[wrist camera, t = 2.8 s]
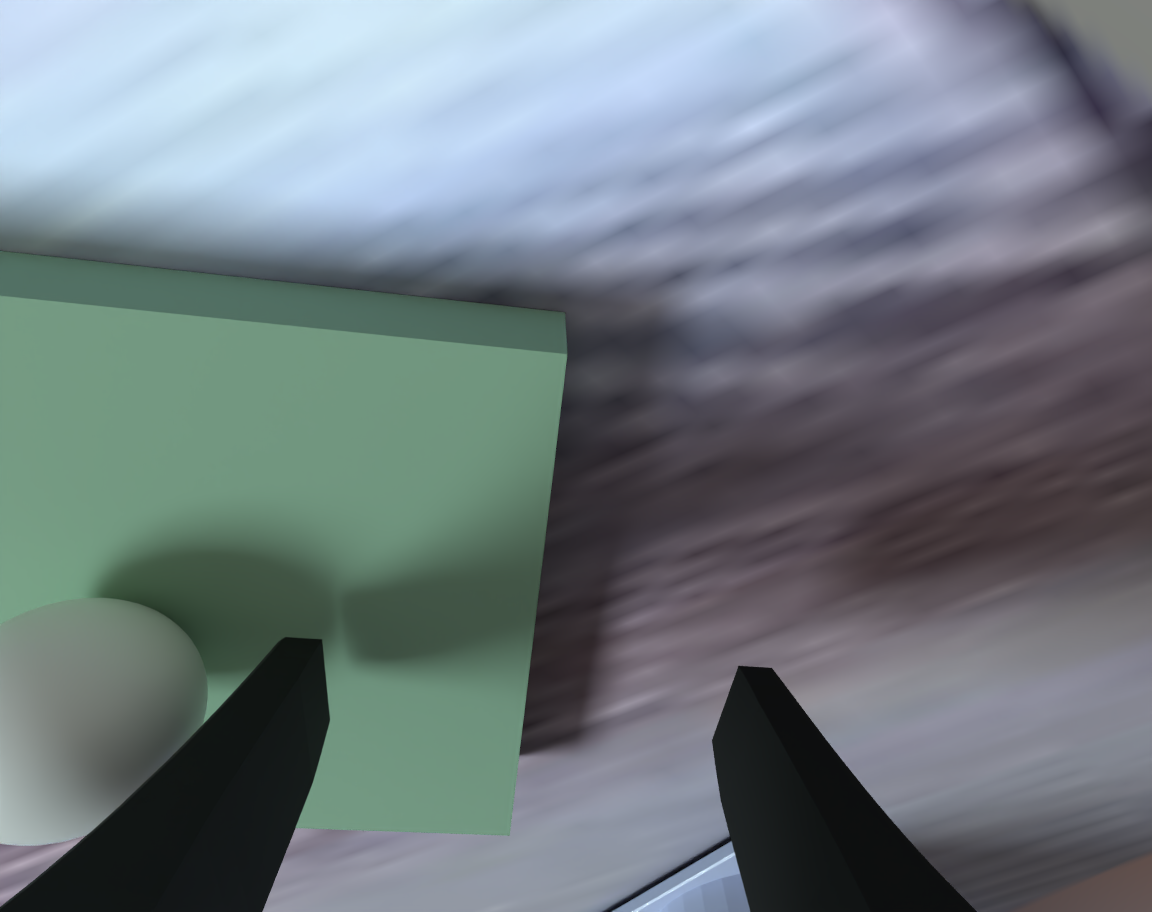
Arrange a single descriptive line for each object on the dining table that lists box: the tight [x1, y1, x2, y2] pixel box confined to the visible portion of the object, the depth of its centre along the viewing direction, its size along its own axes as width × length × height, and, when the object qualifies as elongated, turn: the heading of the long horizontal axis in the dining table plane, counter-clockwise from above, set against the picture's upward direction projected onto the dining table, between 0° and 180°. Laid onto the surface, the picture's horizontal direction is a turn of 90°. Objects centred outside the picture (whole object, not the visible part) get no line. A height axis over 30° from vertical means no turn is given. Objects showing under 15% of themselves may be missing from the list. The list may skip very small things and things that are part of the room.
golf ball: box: [0, 598, 208, 846], centre depth 10 cm, size 4×4×4 cm
